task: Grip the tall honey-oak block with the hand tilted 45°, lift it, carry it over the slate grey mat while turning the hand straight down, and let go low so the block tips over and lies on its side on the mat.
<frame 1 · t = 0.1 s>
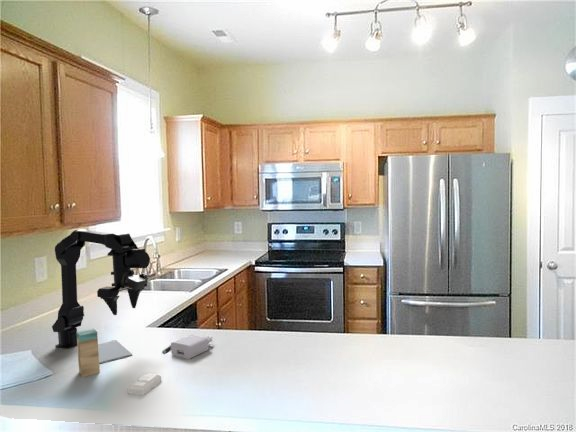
hand: (124, 311, 149), 15 cm above the countertop, tool pointing down, fingers open, 9 cm apart
mat: (106, 352, 150), on the countertop
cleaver: (172, 346, 155), on the countertop
charger: (196, 350, 149), on the countertop
oak block: (89, 372, 133), on the countertop
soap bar: (145, 389, 120), on the countertop
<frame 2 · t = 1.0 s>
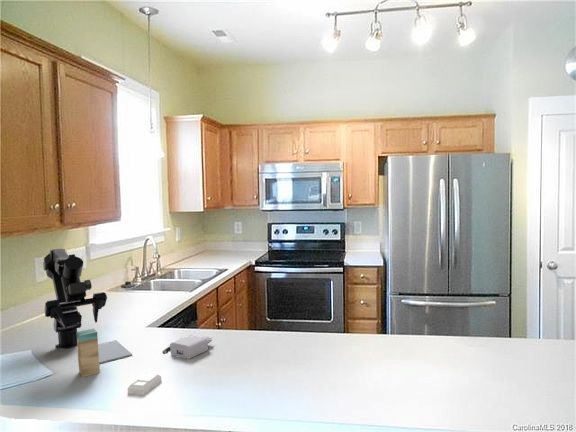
hand: (81, 325, 139), 13 cm above the countertop, tool tilted 45°, fingers open, 9 cm apart
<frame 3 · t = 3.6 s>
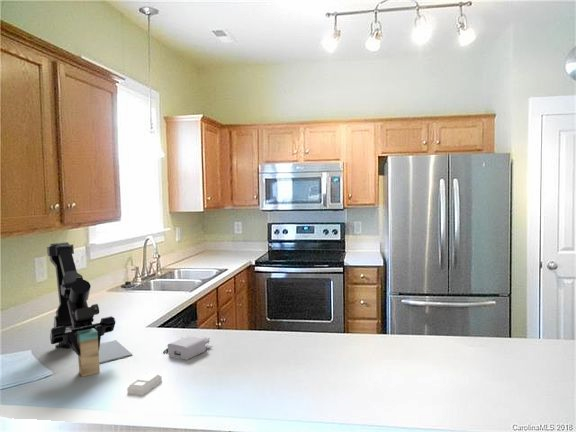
hand: (89, 352, 131), 7 cm above the countertop, tool tilted 45°, fingers closed on oak block, 5 cm apart
oak block: (89, 372, 133), on the countertop, touching gripper
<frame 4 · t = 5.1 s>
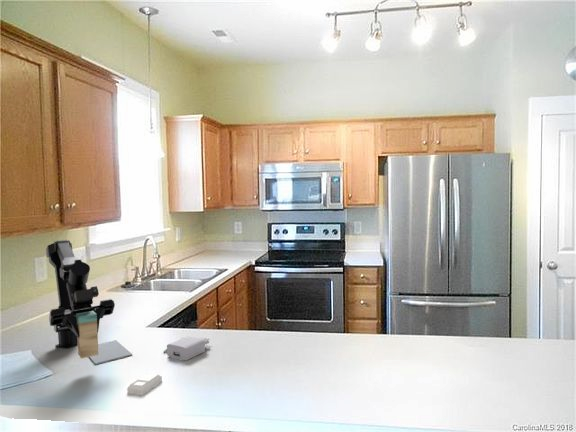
hand: (88, 334, 131), 12 cm above the countertop, tool tilted 45°, fingers closed on oak block, 5 cm apart
oak block: (88, 354, 133), point 6 cm above the countertop, touching gripper
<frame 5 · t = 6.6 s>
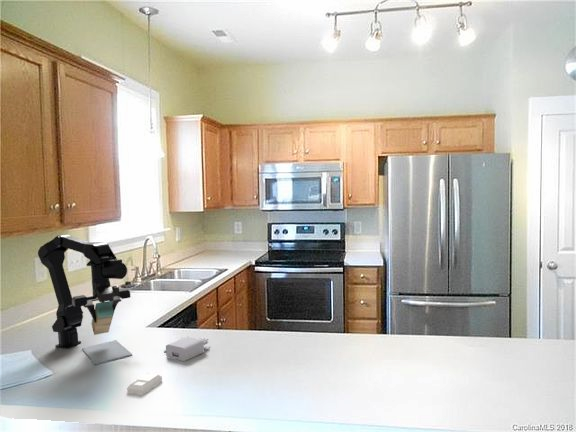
hand: (103, 320, 152), 11 cm above the countertop, tool pointing down, fingers closed on oak block, 5 cm apart
oak block: (99, 327, 156), point 7 cm above the countertop, tilted 45°, touching gripper
when the fingers open (7 cm above the countertop, at t = 7.7 s): oak block moves 2 cm and tips over, resting on mat.
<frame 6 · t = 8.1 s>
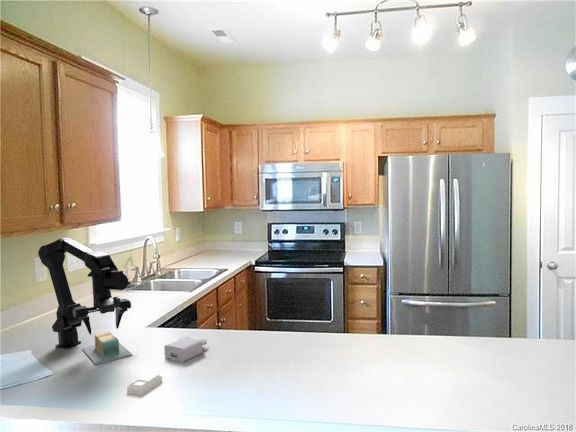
hand: (104, 331, 152), 7 cm above the countertop, tool pointing down, fingers open, 9 cm apart
oak block: (102, 339, 155), point 3 cm above the countertop, tilted 90°, touching mat
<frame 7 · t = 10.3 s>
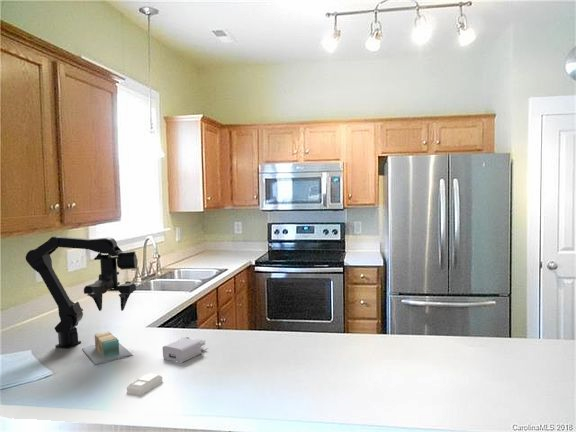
hand: (111, 310, 162), 12 cm above the countertop, tool pointing down, fingers open, 9 cm apart
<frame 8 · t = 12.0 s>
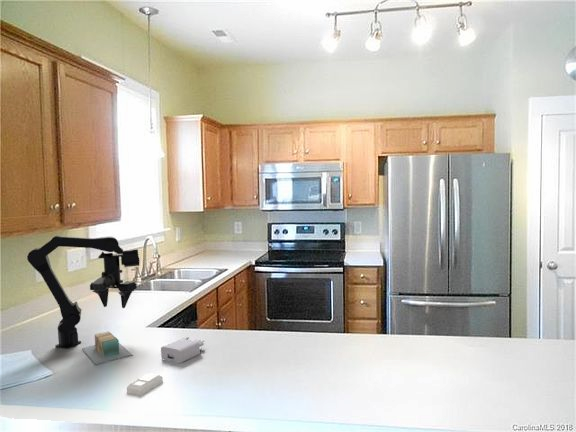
hand: (114, 307, 166), 12 cm above the countertop, tool pointing down, fingers open, 9 cm apart
at the end: oak block tilted 90°; oak block touching mat; oak block inside the target area (1.0 cm from its centre), point 3.0 cm above the countertop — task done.
